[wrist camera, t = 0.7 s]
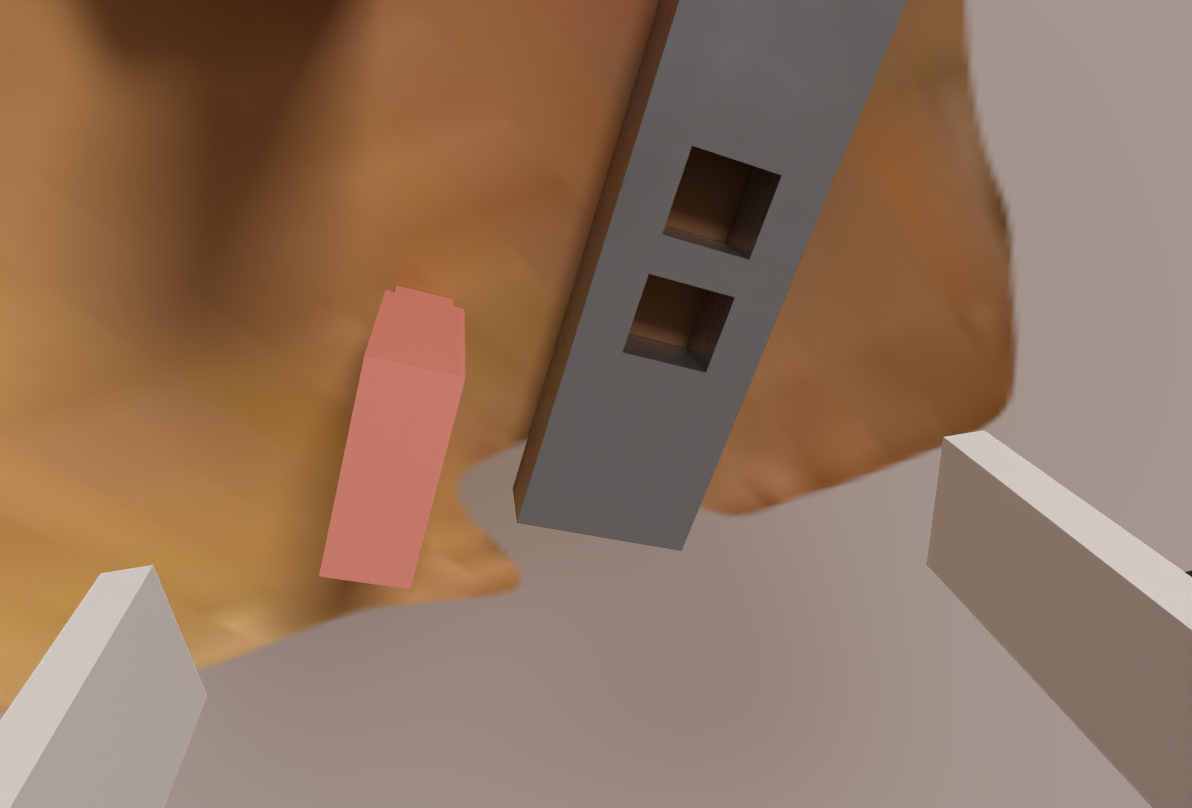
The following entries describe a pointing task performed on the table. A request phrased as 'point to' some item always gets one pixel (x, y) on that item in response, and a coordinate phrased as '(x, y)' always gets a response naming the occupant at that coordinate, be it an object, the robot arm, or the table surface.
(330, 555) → the pink slab
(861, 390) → the table surface
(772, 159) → the rail
